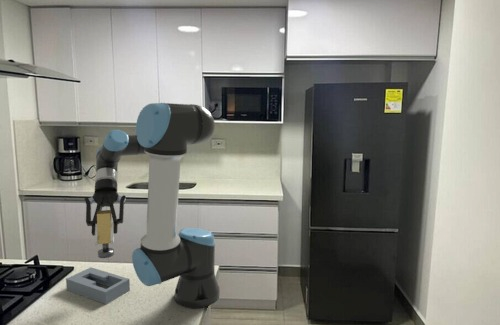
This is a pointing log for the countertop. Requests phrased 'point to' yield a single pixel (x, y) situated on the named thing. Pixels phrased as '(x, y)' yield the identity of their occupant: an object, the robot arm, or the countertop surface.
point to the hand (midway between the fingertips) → (104, 242)
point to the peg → (104, 233)
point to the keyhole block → (87, 286)
